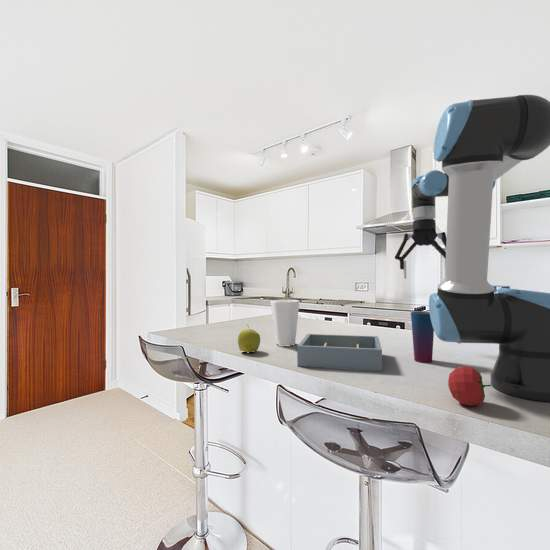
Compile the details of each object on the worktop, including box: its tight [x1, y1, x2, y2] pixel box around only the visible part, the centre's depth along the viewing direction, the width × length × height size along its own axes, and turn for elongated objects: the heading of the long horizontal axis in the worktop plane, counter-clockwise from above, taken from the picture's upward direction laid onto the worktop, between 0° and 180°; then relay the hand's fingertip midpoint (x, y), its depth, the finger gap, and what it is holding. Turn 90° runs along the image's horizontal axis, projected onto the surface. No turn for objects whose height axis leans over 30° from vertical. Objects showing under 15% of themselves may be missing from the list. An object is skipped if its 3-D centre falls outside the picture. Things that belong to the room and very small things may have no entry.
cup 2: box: [410, 310, 435, 364], centre depth 102 cm, size 7×7×15 cm
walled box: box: [296, 333, 383, 372], centre depth 104 cm, size 20×24×6 cm
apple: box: [237, 324, 261, 352], centre depth 116 cm, size 8×8×10 cm
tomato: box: [447, 365, 492, 407], centre depth 68 cm, size 8×8×8 cm
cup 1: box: [270, 299, 300, 346], centre depth 127 cm, size 11×10×17 cm
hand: (424, 278), depth 119 cm, fingers open, 13 cm apart
